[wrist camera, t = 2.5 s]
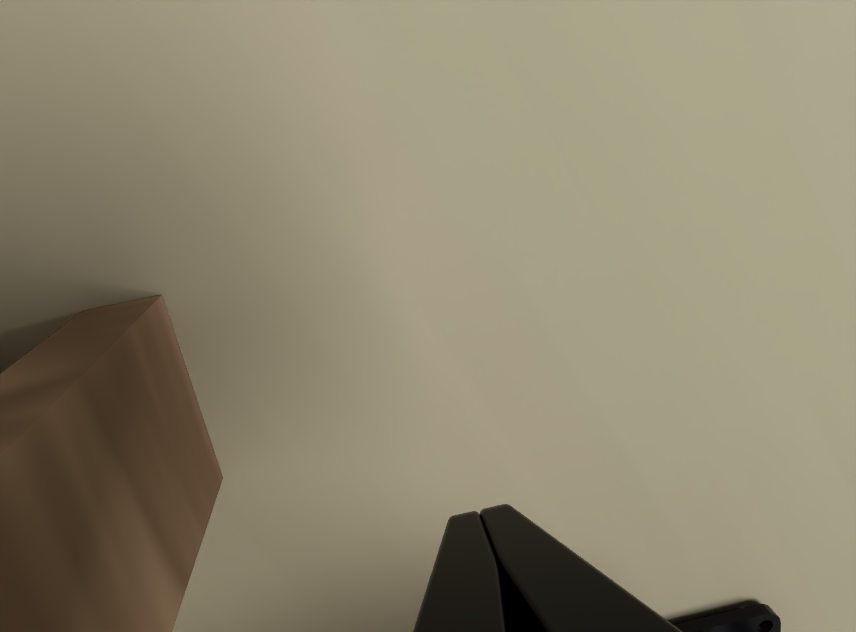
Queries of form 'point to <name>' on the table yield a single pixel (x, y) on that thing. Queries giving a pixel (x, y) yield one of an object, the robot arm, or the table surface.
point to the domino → (102, 476)
